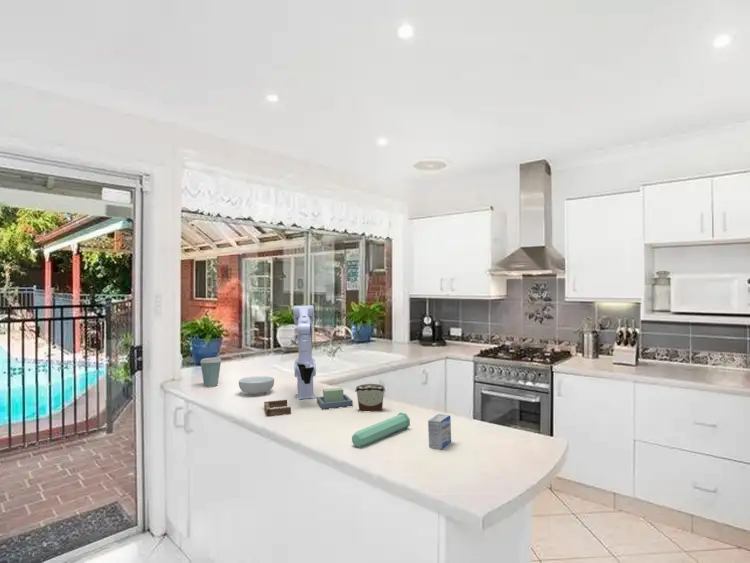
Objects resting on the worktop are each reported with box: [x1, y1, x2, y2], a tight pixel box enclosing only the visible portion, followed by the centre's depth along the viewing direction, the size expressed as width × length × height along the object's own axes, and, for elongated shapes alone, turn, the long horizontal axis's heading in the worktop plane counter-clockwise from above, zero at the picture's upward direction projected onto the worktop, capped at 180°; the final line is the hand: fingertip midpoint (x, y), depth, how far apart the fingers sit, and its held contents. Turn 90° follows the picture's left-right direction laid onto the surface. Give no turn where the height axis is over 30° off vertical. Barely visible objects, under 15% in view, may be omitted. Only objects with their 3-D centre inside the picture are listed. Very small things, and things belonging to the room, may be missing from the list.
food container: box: [354, 383, 386, 413], centre depth 183 cm, size 12×6×10 cm, turn 84°
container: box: [351, 412, 411, 448], centre depth 150 cm, size 6×6×25 cm
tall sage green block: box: [322, 387, 344, 403], centre depth 192 cm, size 4×8×6 cm, turn 108°
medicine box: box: [427, 413, 452, 450], centre depth 141 cm, size 8×4×9 cm, turn 148°
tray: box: [316, 393, 354, 410], centre depth 192 cm, size 12×13×2 cm
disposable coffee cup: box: [199, 356, 222, 388], centre depth 236 cm, size 11×11×15 cm
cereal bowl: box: [238, 375, 275, 396], centre depth 217 cm, size 17×17×7 cm
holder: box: [263, 399, 292, 417], centre depth 185 cm, size 14×10×2 cm
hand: (305, 382), depth 193 cm, fingers open, 7 cm apart
